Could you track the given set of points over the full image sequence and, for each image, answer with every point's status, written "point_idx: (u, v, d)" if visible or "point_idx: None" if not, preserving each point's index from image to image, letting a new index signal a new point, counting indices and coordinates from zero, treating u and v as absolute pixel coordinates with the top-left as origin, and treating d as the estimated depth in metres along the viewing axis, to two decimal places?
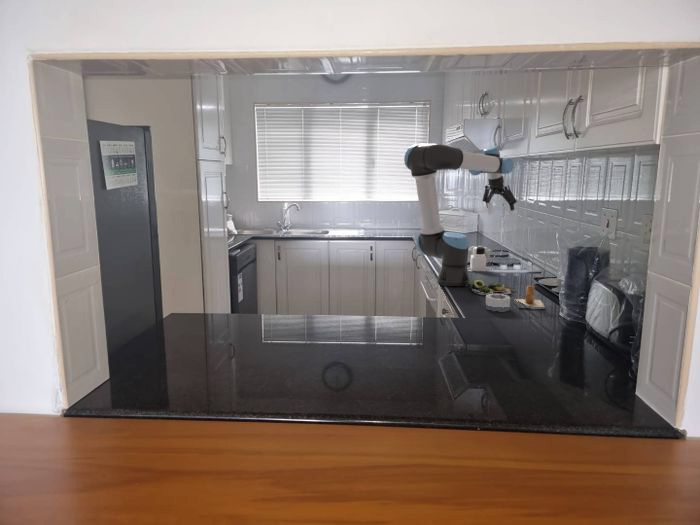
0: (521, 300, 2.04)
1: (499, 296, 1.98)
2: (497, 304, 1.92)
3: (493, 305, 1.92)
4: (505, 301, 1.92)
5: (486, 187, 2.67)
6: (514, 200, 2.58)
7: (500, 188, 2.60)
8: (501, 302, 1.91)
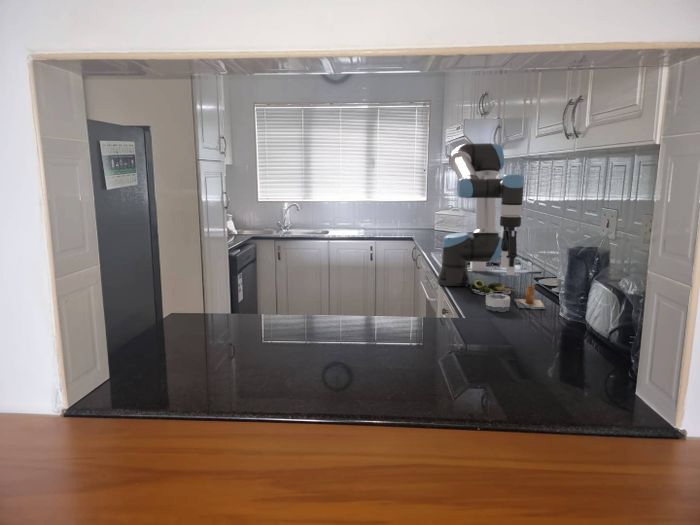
0: (521, 300, 2.04)
1: (499, 296, 1.98)
2: (497, 304, 1.92)
3: (493, 305, 1.92)
4: (505, 301, 1.92)
5: (504, 228, 1.97)
6: (513, 252, 1.83)
7: (508, 232, 1.88)
8: (501, 302, 1.91)
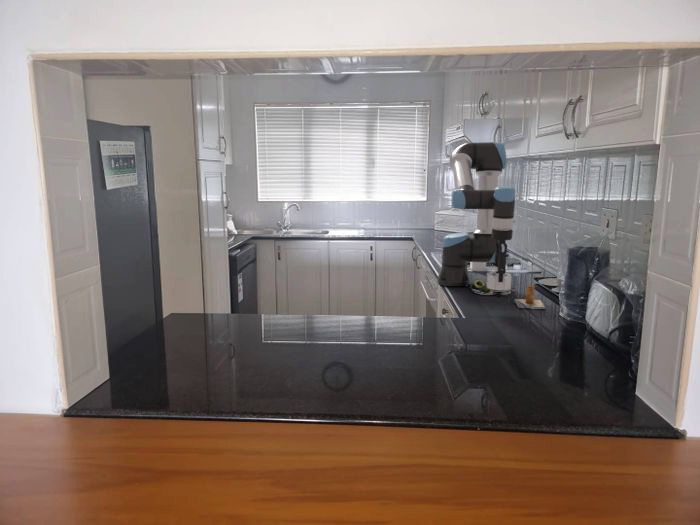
0: (521, 300, 2.04)
1: None
2: None
3: (494, 283, 1.91)
4: (506, 279, 1.90)
5: (496, 242, 1.97)
6: (502, 269, 1.86)
7: (499, 245, 1.89)
8: None
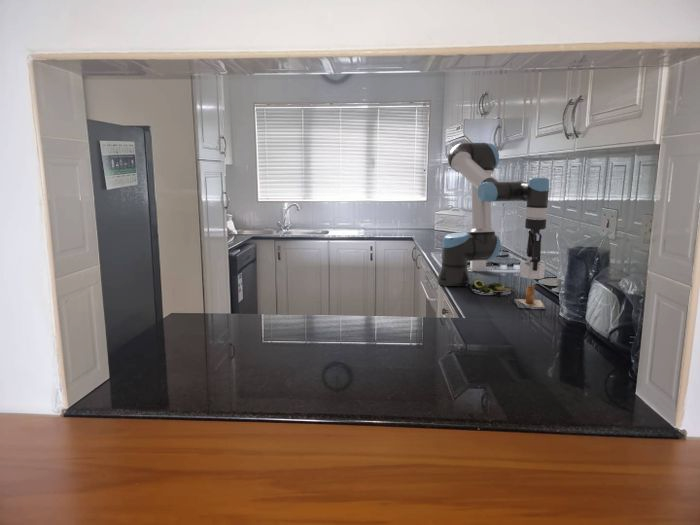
0: (521, 300, 2.04)
1: None
2: None
3: (528, 271, 1.94)
4: (540, 267, 1.93)
5: (529, 232, 2.01)
6: (537, 257, 1.89)
7: (533, 234, 1.92)
8: None
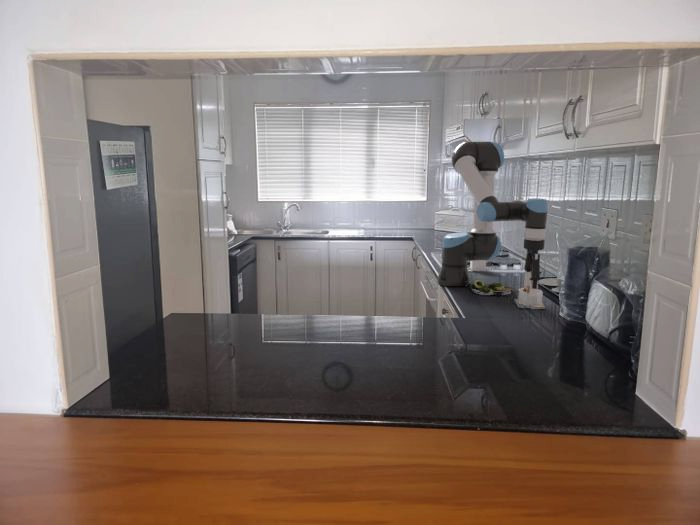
0: None
1: None
2: (530, 298, 1.96)
3: (526, 299, 1.97)
4: (538, 295, 1.96)
5: (527, 250, 2.03)
6: (536, 275, 1.89)
7: (531, 254, 1.94)
8: None
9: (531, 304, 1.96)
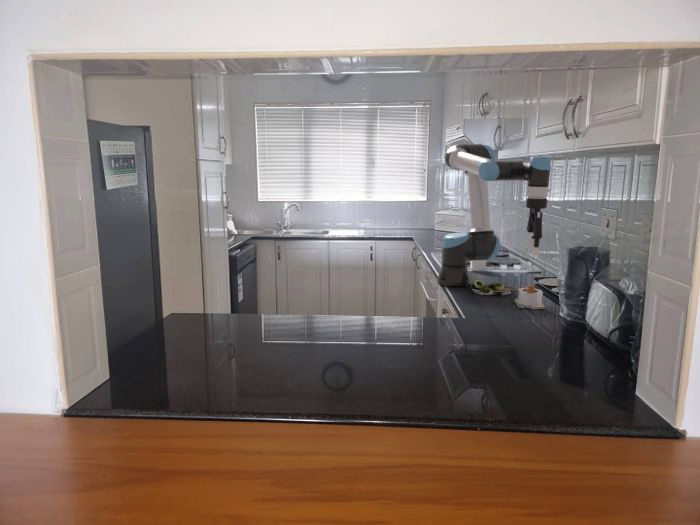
0: None
1: None
2: (530, 298, 1.96)
3: (526, 299, 1.97)
4: (538, 295, 1.96)
5: (530, 210, 2.01)
6: (538, 233, 1.87)
7: (534, 213, 1.92)
8: (534, 296, 1.96)
9: (531, 304, 1.96)
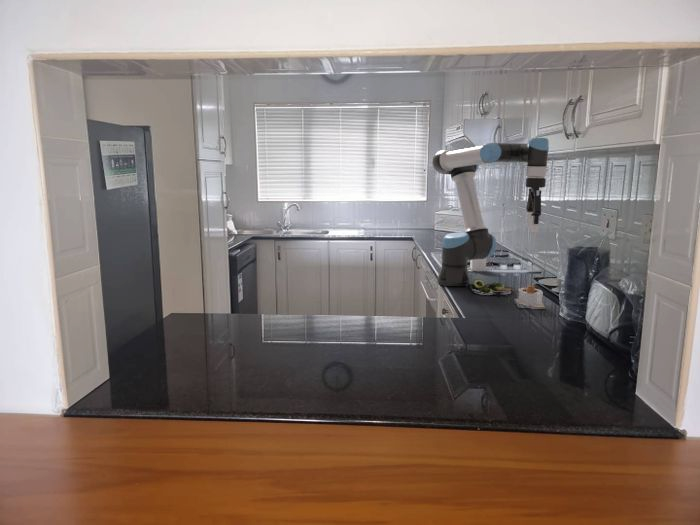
0: None
1: None
2: (530, 298, 1.96)
3: (526, 299, 1.97)
4: (538, 295, 1.96)
5: (529, 190, 2.10)
6: (538, 210, 1.96)
7: (533, 192, 2.02)
8: (534, 296, 1.96)
9: (531, 304, 1.96)
